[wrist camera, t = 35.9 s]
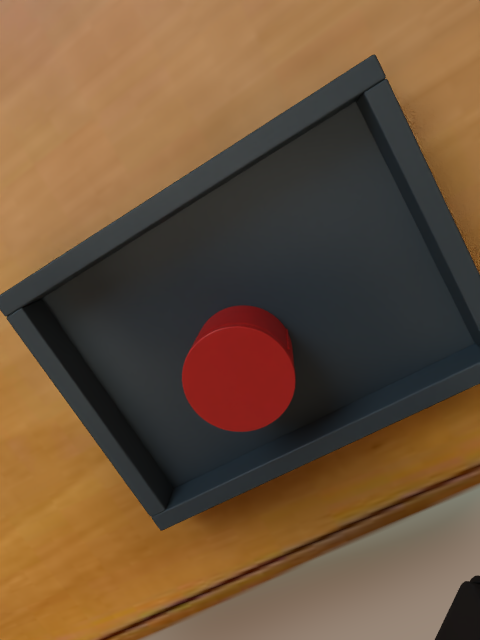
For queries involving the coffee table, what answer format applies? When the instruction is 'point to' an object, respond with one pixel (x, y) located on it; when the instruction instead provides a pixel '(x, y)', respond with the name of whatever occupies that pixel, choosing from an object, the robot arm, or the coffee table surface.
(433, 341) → the tray
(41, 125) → the coffee table surface
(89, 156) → the coffee table surface
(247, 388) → the cap
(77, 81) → the coffee table surface
